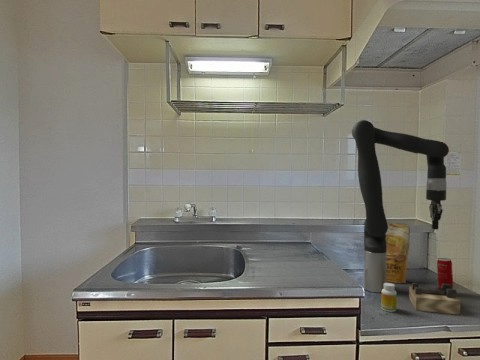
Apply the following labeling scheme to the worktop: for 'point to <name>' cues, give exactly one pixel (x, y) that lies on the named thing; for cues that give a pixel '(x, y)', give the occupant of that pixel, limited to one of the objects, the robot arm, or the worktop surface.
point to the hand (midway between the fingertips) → (435, 229)
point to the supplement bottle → (388, 297)
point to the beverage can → (444, 272)
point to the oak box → (435, 300)
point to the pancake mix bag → (397, 252)
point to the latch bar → (432, 290)
